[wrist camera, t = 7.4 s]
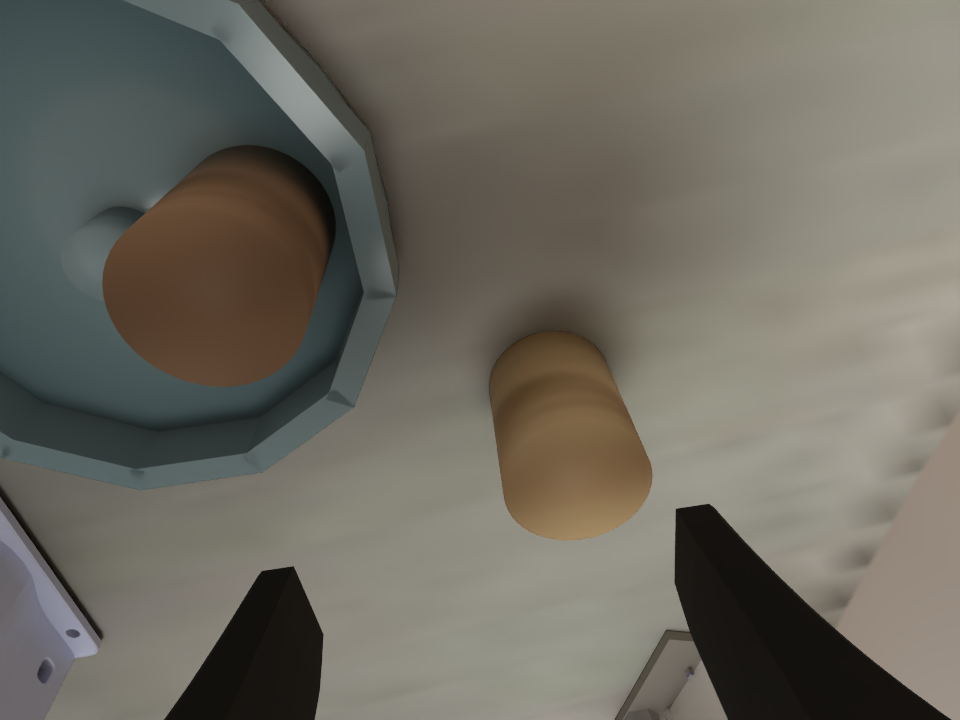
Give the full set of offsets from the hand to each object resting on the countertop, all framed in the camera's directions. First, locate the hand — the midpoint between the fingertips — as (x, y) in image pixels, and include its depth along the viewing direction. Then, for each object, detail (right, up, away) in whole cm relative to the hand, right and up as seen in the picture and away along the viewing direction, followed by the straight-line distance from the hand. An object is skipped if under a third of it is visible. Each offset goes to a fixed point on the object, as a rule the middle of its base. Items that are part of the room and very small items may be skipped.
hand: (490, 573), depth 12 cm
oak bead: (+2, +3, +9) cm, 10 cm away
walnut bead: (-6, +8, +5) cm, 11 cm away
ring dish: (-10, +8, +6) cm, 14 cm away
